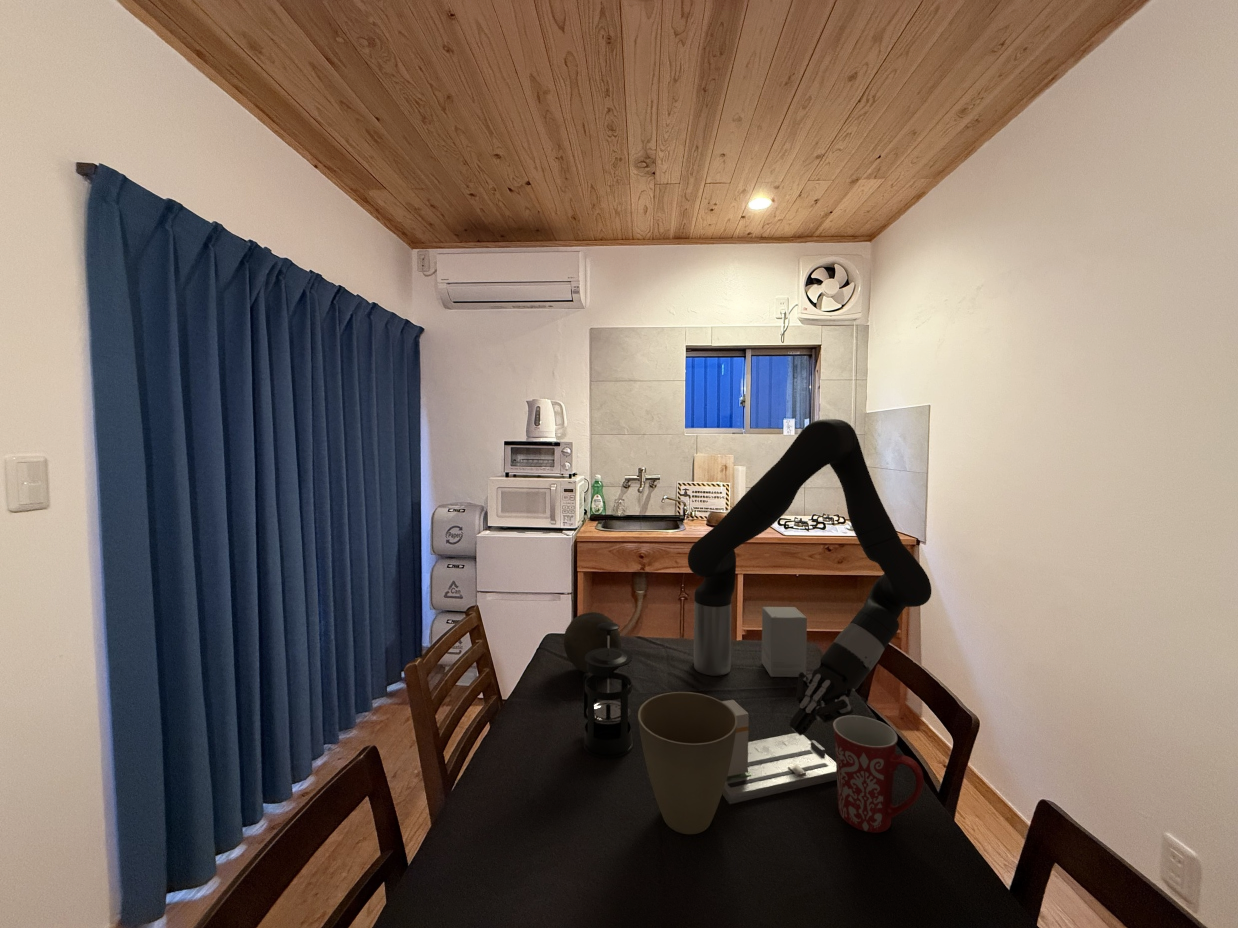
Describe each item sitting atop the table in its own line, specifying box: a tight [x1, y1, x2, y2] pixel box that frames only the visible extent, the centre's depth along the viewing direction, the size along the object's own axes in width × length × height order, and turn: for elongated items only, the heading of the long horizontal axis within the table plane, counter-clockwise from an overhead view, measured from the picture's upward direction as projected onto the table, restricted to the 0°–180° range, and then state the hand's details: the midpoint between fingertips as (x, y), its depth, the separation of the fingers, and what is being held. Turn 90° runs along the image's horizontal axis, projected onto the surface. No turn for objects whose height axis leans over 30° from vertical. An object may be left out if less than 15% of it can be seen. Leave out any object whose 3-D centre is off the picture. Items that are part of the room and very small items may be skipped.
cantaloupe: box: [563, 611, 622, 674], centre depth 128 cm, size 14×14×15 cm
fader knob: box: [722, 699, 750, 776], centre depth 88 cm, size 5×4×10 cm
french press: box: [583, 622, 634, 760], centre depth 98 cm, size 12×9×23 cm
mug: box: [832, 714, 925, 834], centre depth 77 cm, size 13×9×14 cm
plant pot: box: [637, 691, 737, 835], centre depth 78 cm, size 15×15×16 cm
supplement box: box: [761, 606, 808, 678], centre depth 131 cm, size 9×9×15 cm
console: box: [722, 732, 837, 805], centre depth 90 cm, size 12×22×2 cm, turn 107°
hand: (794, 730), depth 92 cm, fingers closed
